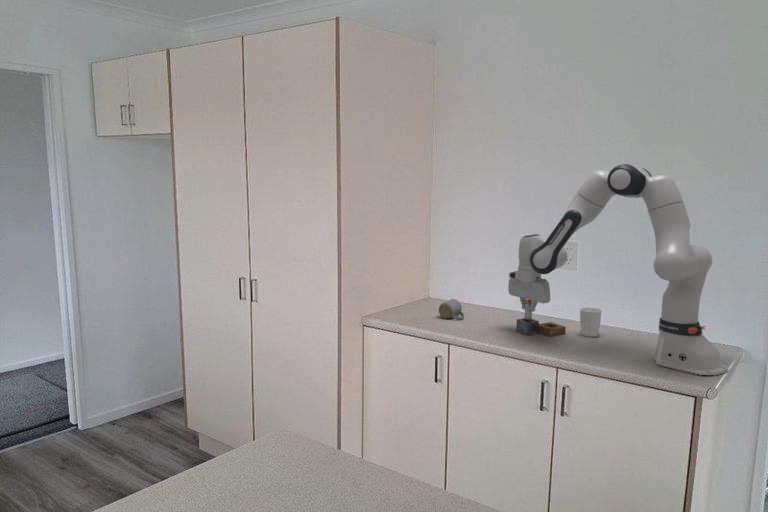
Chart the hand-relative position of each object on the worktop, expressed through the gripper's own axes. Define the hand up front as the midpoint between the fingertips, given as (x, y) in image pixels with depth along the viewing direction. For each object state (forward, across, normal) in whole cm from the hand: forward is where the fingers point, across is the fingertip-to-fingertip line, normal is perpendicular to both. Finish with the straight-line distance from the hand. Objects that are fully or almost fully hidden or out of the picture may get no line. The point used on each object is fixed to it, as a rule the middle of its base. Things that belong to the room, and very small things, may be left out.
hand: (528, 310), depth 232 cm
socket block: (+9, 0, 0) cm, 9 cm away
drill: (+8, 0, 0) cm, 8 cm away
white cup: (+10, -14, -20) cm, 26 cm away
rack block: (+9, -5, -8) cm, 13 cm away
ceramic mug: (+9, +34, +12) cm, 37 cm away
